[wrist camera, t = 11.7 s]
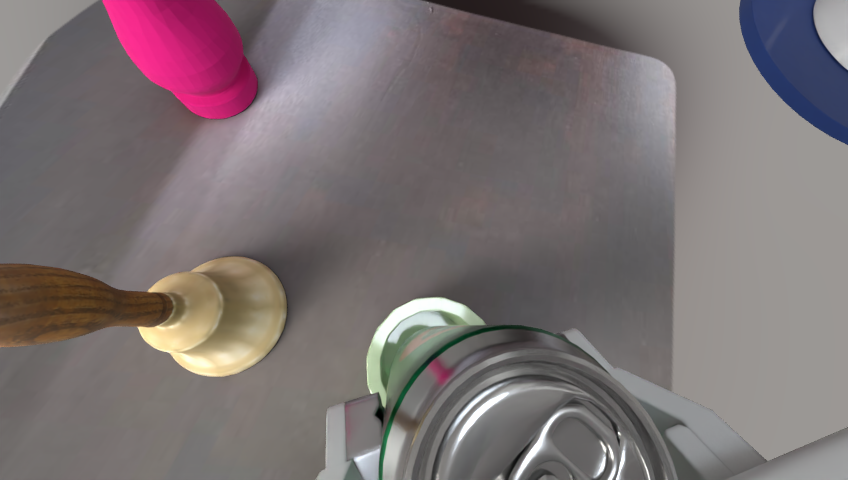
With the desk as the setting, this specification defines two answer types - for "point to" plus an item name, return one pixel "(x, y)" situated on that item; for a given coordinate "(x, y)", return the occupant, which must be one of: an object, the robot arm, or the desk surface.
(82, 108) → the desk surface
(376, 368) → the socket
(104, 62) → the desk surface
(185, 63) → the pepper mill
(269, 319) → the hand bell
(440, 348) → the soda can
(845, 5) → the robot arm
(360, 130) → the desk surface
